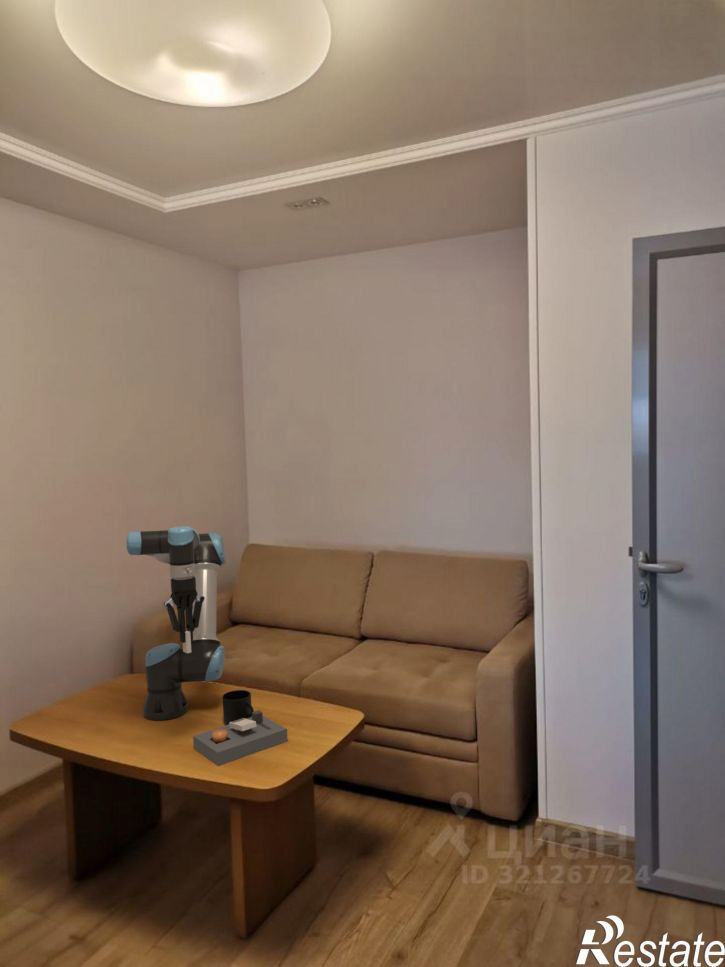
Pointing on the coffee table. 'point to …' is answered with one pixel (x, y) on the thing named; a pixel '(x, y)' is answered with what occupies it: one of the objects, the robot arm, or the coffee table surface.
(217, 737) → the button
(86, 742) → the coffee table surface
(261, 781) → the coffee table surface
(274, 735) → the panel
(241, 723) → the rocker
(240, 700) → the mug
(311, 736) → the coffee table surface
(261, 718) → the slider
